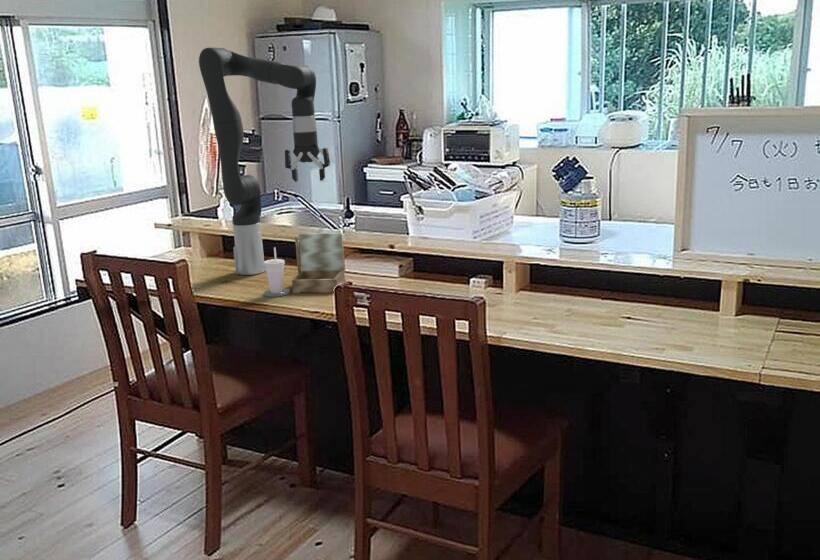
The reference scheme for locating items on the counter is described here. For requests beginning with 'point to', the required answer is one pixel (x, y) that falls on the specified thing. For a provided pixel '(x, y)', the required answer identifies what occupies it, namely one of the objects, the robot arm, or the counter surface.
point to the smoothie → (275, 273)
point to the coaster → (269, 294)
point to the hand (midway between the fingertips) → (308, 180)
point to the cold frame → (319, 262)
